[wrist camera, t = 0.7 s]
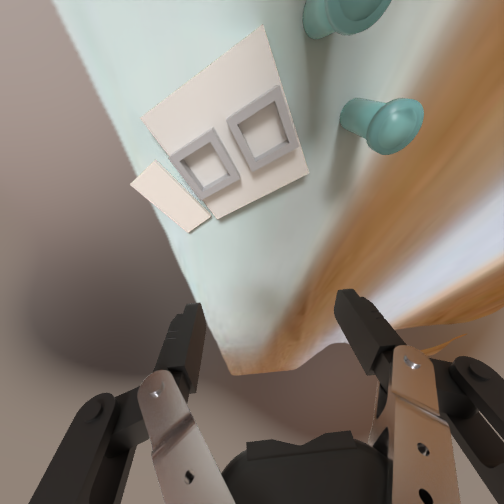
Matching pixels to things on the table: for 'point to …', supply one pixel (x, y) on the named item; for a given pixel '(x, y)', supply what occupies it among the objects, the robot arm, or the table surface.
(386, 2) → the teal flared handle
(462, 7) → the table surface
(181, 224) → the lid
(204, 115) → the housing
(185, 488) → the robot arm
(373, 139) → the teal round-knobbed peg
